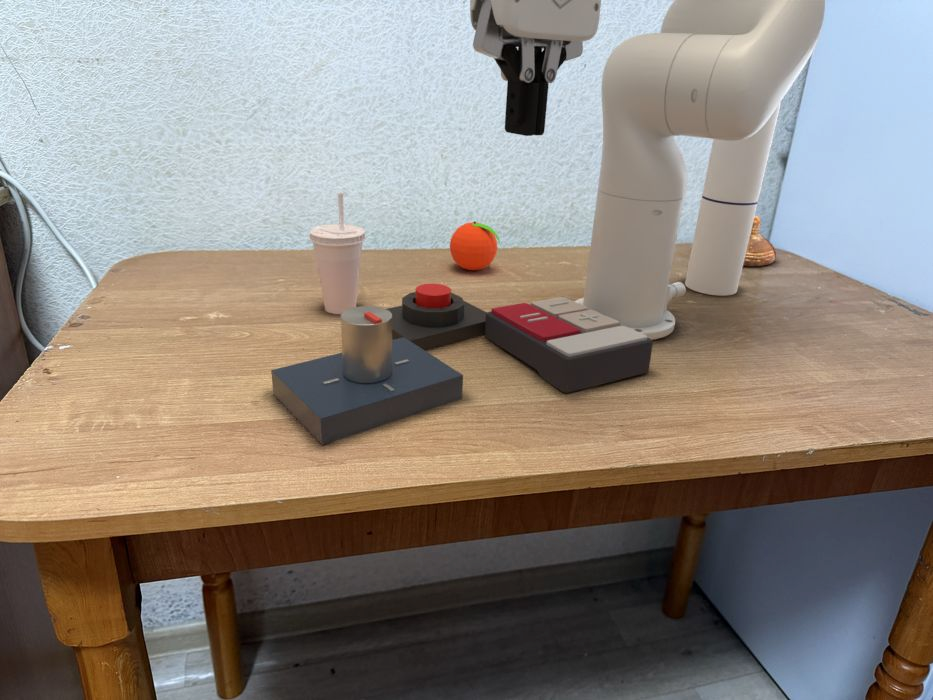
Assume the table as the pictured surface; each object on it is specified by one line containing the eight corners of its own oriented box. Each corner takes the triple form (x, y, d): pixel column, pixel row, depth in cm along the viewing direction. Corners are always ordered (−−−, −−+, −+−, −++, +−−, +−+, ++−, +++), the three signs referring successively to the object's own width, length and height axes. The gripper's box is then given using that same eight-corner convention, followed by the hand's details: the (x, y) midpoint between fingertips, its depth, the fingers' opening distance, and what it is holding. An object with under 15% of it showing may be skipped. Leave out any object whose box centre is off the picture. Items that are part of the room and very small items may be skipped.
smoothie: (356, 321, 75) (352, 200, 69) (304, 315, 76) (296, 195, 70) (374, 302, 81) (372, 189, 75) (326, 297, 82) (320, 185, 76)
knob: (334, 368, 58) (331, 308, 56) (376, 357, 61) (375, 299, 58) (357, 387, 55) (356, 325, 53) (401, 375, 58) (401, 315, 55)
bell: (695, 244, 114) (703, 203, 111) (766, 251, 112) (777, 209, 109) (703, 263, 103) (713, 218, 100) (782, 270, 102) (794, 225, 98)
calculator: (563, 292, 76) (656, 333, 64) (561, 327, 78) (650, 372, 66) (484, 305, 71) (568, 352, 59) (483, 342, 73) (564, 394, 61)
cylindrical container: (682, 290, 91) (720, 100, 80) (686, 276, 97) (722, 98, 86) (736, 298, 88) (782, 104, 78) (737, 283, 94) (779, 101, 84)
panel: (404, 359, 66) (404, 335, 65) (462, 399, 59) (463, 373, 58) (273, 394, 59) (270, 368, 57) (322, 445, 51) (320, 416, 50)
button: (437, 295, 75) (437, 281, 74) (457, 306, 72) (458, 291, 72) (408, 301, 73) (408, 286, 72) (428, 312, 70) (428, 297, 69)
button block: (451, 307, 81) (452, 280, 79) (497, 331, 74) (499, 303, 73) (366, 326, 74) (366, 297, 72) (409, 355, 67) (409, 324, 66)
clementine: (510, 270, 96) (514, 222, 93) (486, 281, 90) (489, 231, 87) (465, 259, 99) (467, 213, 96) (439, 270, 94) (441, 221, 91)
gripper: (498, -171, 39) (481, 143, 47) (653, -124, 48) (617, 136, 55) (429, -148, 45) (424, 131, 52) (579, -109, 53) (556, 126, 61)
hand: (523, 133), depth 54 cm, fingers closed
